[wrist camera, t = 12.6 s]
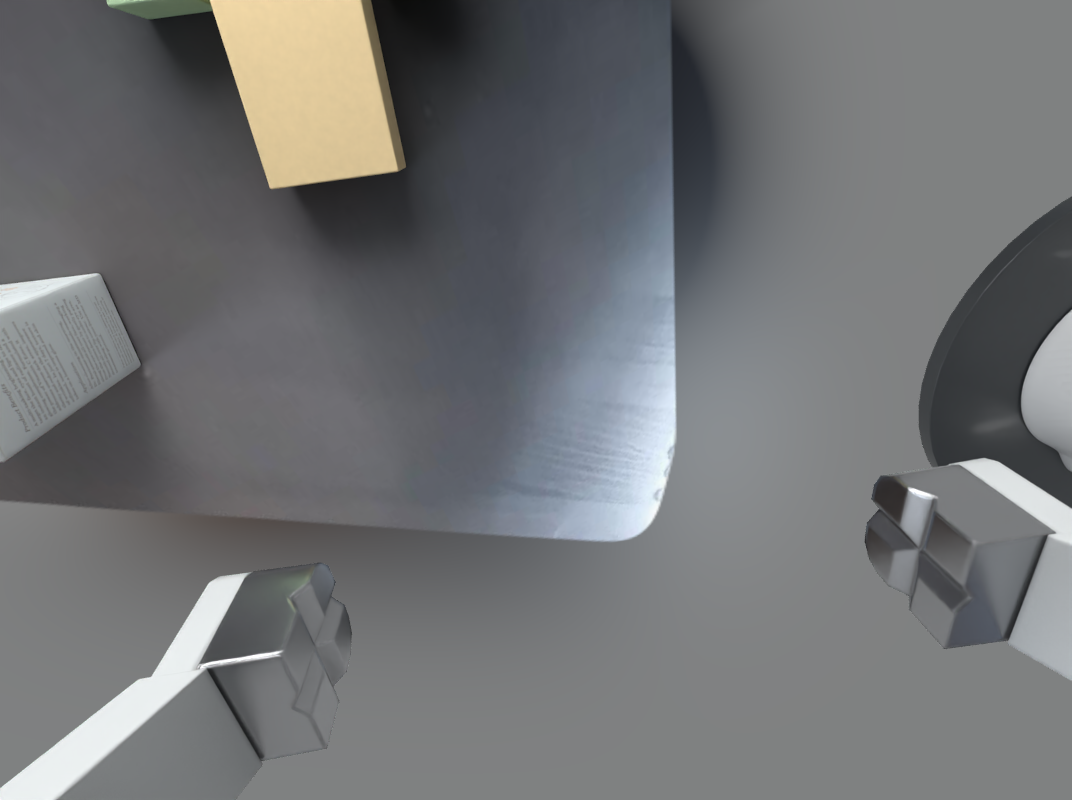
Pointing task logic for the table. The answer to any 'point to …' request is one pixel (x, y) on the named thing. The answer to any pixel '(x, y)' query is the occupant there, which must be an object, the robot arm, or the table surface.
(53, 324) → the small box
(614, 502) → the table surface
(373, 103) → the beige pad
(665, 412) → the table surface
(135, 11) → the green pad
